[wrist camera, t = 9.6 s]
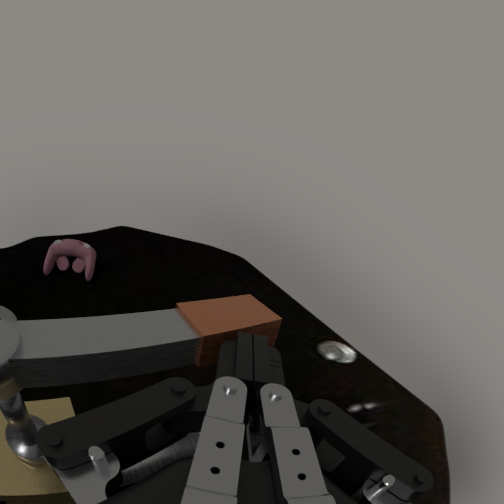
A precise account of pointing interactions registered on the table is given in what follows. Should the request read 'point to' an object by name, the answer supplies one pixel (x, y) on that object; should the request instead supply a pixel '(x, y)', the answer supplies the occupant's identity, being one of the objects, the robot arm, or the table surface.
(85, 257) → the pink curved piece
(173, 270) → the table surface
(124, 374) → the lever
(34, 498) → the valve
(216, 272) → the table surface
